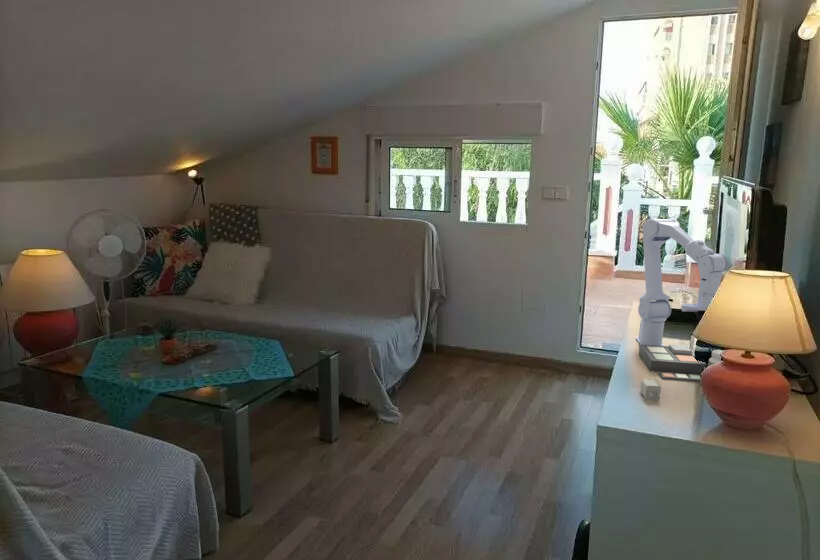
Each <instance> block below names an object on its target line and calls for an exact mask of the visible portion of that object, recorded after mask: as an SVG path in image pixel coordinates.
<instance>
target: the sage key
mask: <svg viewBox="0 0 820 560" xmlns="http://www.w3.org/2000/svg"><path fill="white" fill-rule="evenodd" d="M652 355H653V356H654V358H655V359H660V360H674V359H673V358H672V357H671V355H670V354H655V353H652ZM674 361H675V360H674Z"/></svg>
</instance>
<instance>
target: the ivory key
mask: <svg viewBox="0 0 820 560" xmlns="http://www.w3.org/2000/svg"><path fill="white" fill-rule="evenodd" d="M647 349H648V350H649V351H650V352H659V353H668V352H667V351H666V350H665V348H663V347H648V346H647Z"/></svg>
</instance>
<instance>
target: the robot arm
mask: <svg viewBox="0 0 820 560" xmlns="http://www.w3.org/2000/svg"><path fill="white" fill-rule="evenodd" d="M642 238H643V241H642V242H643V243H642V244H643V262H644V279H645V282H644V283H645V293H643V295H642V296H640V297H639V305H638V307H637V308H638V310H637V311H638V315H639V317H640V322H639V331H638V336H635V339H636V341H637V342H638V343H639V345H640V344H642V345H657V346H665V344H664V343H663V336H664V329H665V321H667V318H669V317H670V316H671V313H672V306H671V303H670V300H669V296H668V295H667V294H666V293H664V291H663V274H662V273H663V272H662V258H661V247H662V246H663V244H664V243H666V242H668V241H669V240H670V239H672V240H673V241H675V242H676V243H678V244H679V245H681V247H683V248H684V249H685V254H686V255H687V256H688V257H689V258H690V259H692V260H693V261H694V262H695V263H696V264H697V268H698V271H699V278H700V280H699V286H698V294H697V301H696V303H682V304H681V308H680V310H681V312H683V313H684V312H693V313H694V314H695V316H696V319H697V322H698V324H699V321H700V320H701V318H702V316H703V314H704V312H705V310H706V308H707V307H708V305H709V304H710V302H711V300H712V298H713V296H714V295H715V293H716V291H717V289H718V287H719V285H720V286H721V282H722V281H721V280H722V274H723V272H725V271H726V270H727V269H728V263H729V262H728V259H727V257H726V256H725V255H724V254H723V253H716V252H715V251H714V249H711V248H710V247H708V246H707V244H705V241H703V240H700V239H693V238H692V237H691V236H690V235H689V234H688V233H687V232H686V231H685V230H684V229H683V228H682V227H681V224H680V222H678V221H677V220H676V219H674V218H656V219H654V218H650V219H647V220H646V221H645V223H644V224H643V225H642Z"/></svg>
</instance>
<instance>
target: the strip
mask: <svg viewBox="0 0 820 560" xmlns="http://www.w3.org/2000/svg"><path fill="white" fill-rule="evenodd" d="M658 375H659V376H660V378H661V379H662V380H669V381H671V380H672V381H683V382H698V383H701V382H700V375H692V374H678V373H664V372H658Z"/></svg>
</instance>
